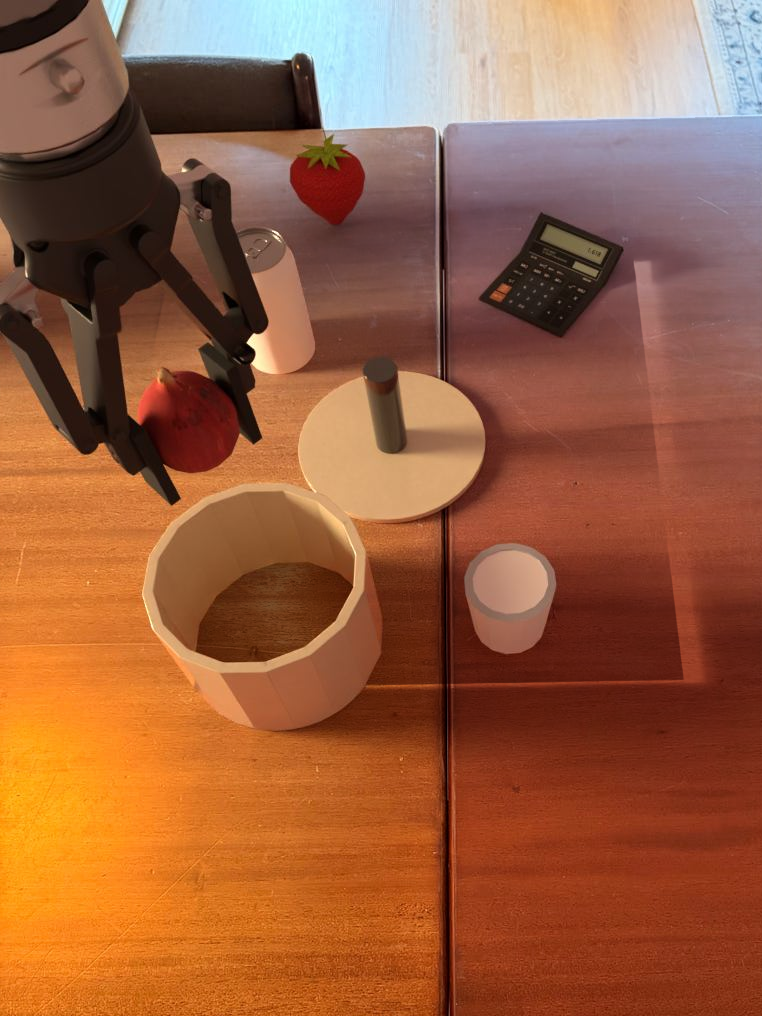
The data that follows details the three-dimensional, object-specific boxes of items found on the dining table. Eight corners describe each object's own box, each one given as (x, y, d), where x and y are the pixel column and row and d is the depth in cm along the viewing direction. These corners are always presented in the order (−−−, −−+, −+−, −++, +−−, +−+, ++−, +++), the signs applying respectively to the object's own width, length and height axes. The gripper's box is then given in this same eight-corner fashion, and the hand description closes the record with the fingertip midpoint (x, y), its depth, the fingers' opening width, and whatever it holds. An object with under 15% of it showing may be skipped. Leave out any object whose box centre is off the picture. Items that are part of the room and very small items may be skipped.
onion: (262, 432, 61) (230, 340, 54) (237, 504, 58) (199, 417, 51) (177, 422, 61) (134, 329, 54) (148, 492, 59) (99, 405, 52)
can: (236, 365, 89) (199, 262, 78) (271, 320, 91) (240, 214, 81) (294, 387, 87) (265, 285, 77) (328, 340, 90) (305, 235, 79)
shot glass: (527, 677, 73) (529, 636, 67) (451, 640, 75) (446, 596, 69) (566, 610, 76) (572, 564, 70) (492, 575, 77) (492, 528, 71)
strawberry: (303, 204, 99) (283, 113, 90) (373, 203, 99) (361, 113, 90) (297, 242, 96) (276, 153, 87) (370, 242, 96) (356, 152, 87)
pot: (176, 732, 72) (127, 674, 62) (201, 559, 79) (161, 484, 69) (378, 729, 71) (360, 670, 62) (386, 556, 79) (370, 480, 69)
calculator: (479, 304, 92) (478, 279, 89) (541, 234, 96) (542, 209, 93) (560, 342, 89) (562, 317, 86) (621, 269, 93) (624, 243, 91)
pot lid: (293, 529, 80) (266, 454, 71) (307, 381, 88) (285, 296, 79) (486, 525, 80) (484, 449, 71) (484, 377, 87) (482, 291, 78)
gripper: (-113, 269, 35) (117, 587, 55) (276, 44, 41) (353, 407, 61) (-207, 179, 37) (47, 515, 58) (171, -20, 43) (280, 349, 64)
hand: (204, 459), depth 59 cm, fingers closed on onion, 6 cm apart
